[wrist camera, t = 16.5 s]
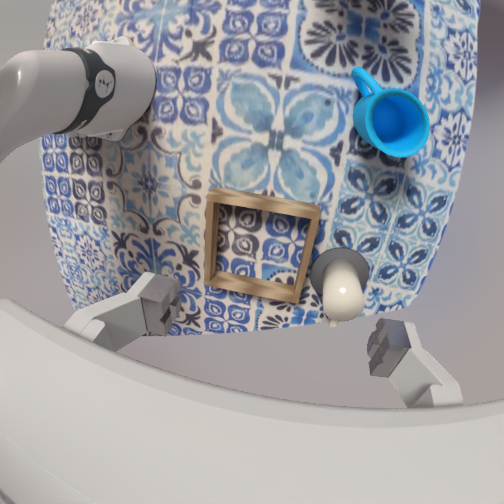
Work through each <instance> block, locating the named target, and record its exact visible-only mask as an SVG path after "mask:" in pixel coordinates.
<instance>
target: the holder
mask: <svg viewBox="0 0 504 504" xmlns="http://www.w3.org/2000/svg"><path fill="white" fill-rule="evenodd" d="M220 203H223V204H229V205H235V206H242V207H248V208H253V209H259V210H265V211H271V212H276V213H282V214H287V215H292V216H298V217H303V218H308V219H310V220H309V225H308V230H307V234H306V239H305V243H304V248H303V252H302V256H301V261H300V265H299V269H298V273H297V277H296V282H295V286H294V285H289V284H284V283H278V282H273V281H268V280H263V279H258V278H253V277H248V276H243V275H238V274H233V273H228V272H223V271H218V270H216V261H217V242H218V224H219V209H220ZM319 218H320V205H315V204H310V203H304V202H299V201H294V200H288V199H283V198H277V197H272V196H266V195H260V194H254V193H248V192H241V191H235V190H228V189H221V188H214V189H213V190H211V191H210V192H209V193H208V194H207V209H206V234H205V274H204V285H208V286H212V287H217V288H221V289H226V290H231V291H236V292H240V293H245V294H250V295H255V296H260V297H265V298H270V299H275V300H280V301H286V302H291V303H297V304H298V302H299V298H300V294H301V291H302V287H303V283H304V280H305V276H306V272H307V268H308V264H309V260H310V256H311V252H312V248H313V244H314V240H315V236H316V231H317V227H318V223H319Z"/></svg>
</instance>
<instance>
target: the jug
mask: <svg viewBox="0 0 504 504" xmlns="http://www.w3.org/2000/svg"><path fill="white" fill-rule="evenodd" d="M322 286H323V309H324V312H325V314H326V315H327V316H328V317H329V327H334V328H336V327H337V324H338V322H339V321H348V320H351V319H354V318H355V317H357V316H358V315H359V314H360V313H361V312H362V310H363V308H364V298H363V294H362V289H361V285H360V280H359V276H358V272H357V269H356V267H355V265H354V264H353V263H352V262H350V261H348V260H345V259H337V260H334V261H332V262H330V263H328V264H327V265H326V266H325V268H324V269H323V272H322Z"/></svg>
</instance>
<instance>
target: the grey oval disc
mask: <svg viewBox="0 0 504 504" xmlns="http://www.w3.org/2000/svg"><path fill="white" fill-rule="evenodd" d="M337 259H345V260H348V261H350V262H352V263H353V264H354V265H355V267H356V269H357V272H358V276H359V280H360V285H361V289H363V287H364V286H365V285H366V283H367V280H368V277H369V269H368V265H367V262H366V260H365V259H364V257H363V256H362V255H361V254H360V253H358V252H357V251H355V250H352V249H349V248H333V249H330V250H327V251H325V252H324V253H322V254H321V255H319V256H318V257H317V258H316V260H315V261H314V262H313V264H312V267H311V271H310V280H311V284H312V286H313V287H314V289H315V290H316V291H317V292H318V293H319V294H320V295H322V296H323V286H322V272H323V269H324V268H325V266H326V265H327V264H328V263H330V262H332V261H334V260H337Z"/></svg>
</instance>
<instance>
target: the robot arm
mask: <svg viewBox="0 0 504 504" xmlns="http://www.w3.org/2000/svg"><path fill="white" fill-rule="evenodd" d="M154 90H155V71H154V67H153V64H152V62H151V60H150V59H149V57H148V56H147V55H146V54H145V53H144V52H142V51H141V50H139V49H137V48H136V47H135V46H134V44H133V42H132V41H131V39H130V38H129V37H127V36H121V37H118V38H116V39H114V40H112V41H109V42H105V41H94V42H93V43H92V44H90V45H88V46H86V47H85V48H80V47H73V48H66V49H62V50H38V51H36V50H35V51H25V52H22V53H19V54H17V55H15V56H14V57H13V58H11V59H10V60H8V61H7V62H6V63H5V64H4V65H3V67H2V68H1V69H0V163H1V162H2V161H3V160H4V159H5V158H6V157H7V156H8V155H9V154H10V153H11V152H12V151H14V150H15V149H16V148H18V147H20V146H21V145H24V144H25V143H28V142H30V141H32V140H35V139H37V138H40V137H42V136H45V135H48V134H66V136H67V137H77V136H78V135H79V137H80V138H84V137H86V136H88V137H92V136H94V137H98V138H102V139H106V140H110V141H120V140H121V139H122V138H123V137H124V135H125V133H126V131H127V129H128V128H129V127H130V126H131V125H132V124H133V123H134V122H136V121H137V120H138V119H139V118H140V117H141V116H142V115H143V114H144V112H145V111H146V109H147V108H148V106H149V104H150V102H151V100H152V97H153V94H154ZM111 133H112V135H111ZM180 289H181V284H180V281H179V280H178V279H174V278H171V277H167V276H163V275H159V274H155V273H151V272H148V271H147V272H144V273H143V274H142V275H141V277H140V278H139V279H138V280H137V281H136V282H135V283H134V285H133V286H132V287H131V288H130V289H129V291H128V292H127V293H124V292H123V293H120V294H118V295H115V296H113V297H110V298H107V299H105V300H102V301H100V302H97V303H94V304H92V305H89V306H87V307H84V308H82V309H79V310H77V311H76V312H75V313H74V314H73V315H72V316H71V318H70V319H69V320H68V321H67V322H66V323H65V325H64V326H63V327H62V328H61V327H59V326H57V325H55V324H53V323H51V322H50V321H47V320H46V319H44V318H42V317H40V316H38V315H37V314H35V313H33V312H32V311H30V310H28V309H26V308H25V307H23V306H21V305H20V304H18V303H17V302H15V301H14V300H11V299H10V298H3V299H0V504H504V399H500V400H494V401H489V402H482V403H475V404H467V405H464V401H463V398H462V395H461V391H460V388H459V384H458V382H457V381H456V380H455V379H454V378H453V377H452V376H451V375H450V374H449V373H448V372H447V371H446V370H445V369H444V368H443V367H442V366H441V365H440V364H439V363H438V362H437V361H436V360H435V359H434V358H433V357H432V356H431V355H430V354H429V353H428V352H427V351H426V350H423V349H422V346H421V343H420V340H419V337H418V334H417V332H416V328H415V326H414V323H413V322H410V321H399V320H390V319H383V318H380V319H379V320H378V322H377V324H376V329H377V330H375V331H374V332H372V333H371V335H370V337H369V340H368V344H367V352H368V356H370V358H371V360H370V362H369V368H370V375H371V376H379V377H389V378H388V379H389V380H390V382H391V383H392V385H393V386H394V388H395V389H396V391H397V392H398V394H399V395H400V397H401V398H402V400H403V401H404V403H405V405H406V406H407V408H404V409H403V408H400V409H399V408H395V409H394V408H361V407H346V406H333V405H324V404H315V403H307V402H299V401H292V400H286V399H279V398H274V397H268V396H263V395H258V394H252V393H248V392H243V391H239V390H234V389H230V388H226V387H221V386H218V385H213V384H210V383H206V382H202V381H198V380H195V379H192V378H188V377H185V376H181V375H178V374H175V373H172V372H169V371H165V370H162V369H159V368H156V367H154V366H151V365H148V364H145V363H142V362H139V361H137V360H134V359H131V358H129V357H126V356H124V355H121V354H119V353H116V351H117V350H119V349H121V348H122V347H124V346H125V345H127V344H129V343H131V342H132V341H134V340H135V339H137V338H139V337H140V336H142V335H144V334H145V333H147V331H148V332H152V333H155V334H159V335H162V336H166V335H167V334H168V332H169V330H170V328H171V327H172V320H173V319H175V318H177V316H178V314H179V312H180V308H181V302H182V300H181V295H180V294H179V293H178V292H179V290H180Z"/></svg>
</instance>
